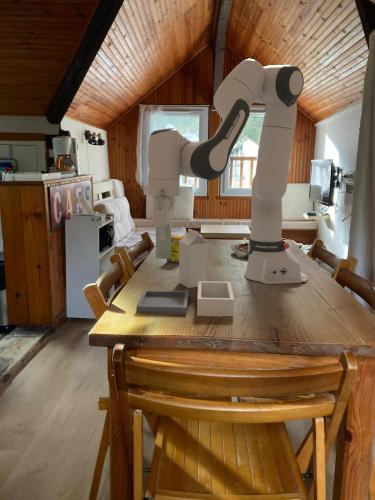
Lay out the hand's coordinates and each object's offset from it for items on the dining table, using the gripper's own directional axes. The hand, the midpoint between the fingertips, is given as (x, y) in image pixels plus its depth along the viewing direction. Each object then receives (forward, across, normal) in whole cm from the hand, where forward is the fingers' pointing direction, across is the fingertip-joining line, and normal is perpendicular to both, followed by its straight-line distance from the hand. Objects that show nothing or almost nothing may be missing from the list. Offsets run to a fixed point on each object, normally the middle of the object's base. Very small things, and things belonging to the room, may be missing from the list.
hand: (163, 237), depth 112 cm
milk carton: (+20, +20, -8) cm, 30 cm away
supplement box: (+20, +51, 0) cm, 55 cm away
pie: (+21, +66, -35) cm, 77 cm away
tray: (+20, 0, 0) cm, 20 cm away
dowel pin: (+6, 0, 0) cm, 6 cm away
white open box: (+20, 0, -15) cm, 25 cm away
